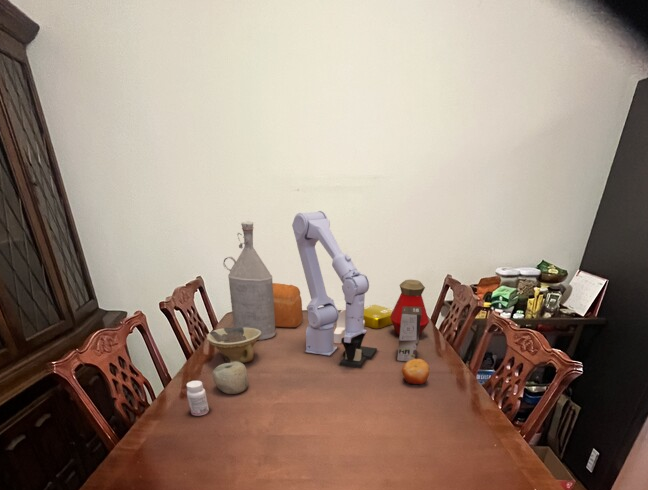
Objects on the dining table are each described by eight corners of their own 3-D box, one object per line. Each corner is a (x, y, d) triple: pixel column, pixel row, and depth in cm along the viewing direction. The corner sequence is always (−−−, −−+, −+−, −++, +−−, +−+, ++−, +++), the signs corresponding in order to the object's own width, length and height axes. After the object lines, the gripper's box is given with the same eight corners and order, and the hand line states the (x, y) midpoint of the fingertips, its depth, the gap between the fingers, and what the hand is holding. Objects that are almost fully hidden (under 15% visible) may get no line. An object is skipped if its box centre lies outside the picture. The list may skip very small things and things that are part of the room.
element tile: (373, 313, 184) (374, 302, 182) (400, 321, 175) (401, 310, 172) (349, 321, 176) (350, 309, 173) (376, 329, 167) (377, 318, 164)
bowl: (274, 359, 142) (272, 332, 137) (231, 375, 131) (227, 346, 126) (242, 346, 152) (239, 320, 147) (200, 360, 141) (195, 333, 136)
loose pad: (339, 365, 138) (340, 351, 135) (348, 355, 145) (348, 342, 142) (360, 368, 136) (360, 354, 133) (367, 357, 143) (368, 344, 140)
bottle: (434, 336, 160) (442, 283, 149) (409, 344, 154) (415, 288, 143) (406, 325, 171) (411, 274, 160) (381, 332, 164) (384, 279, 154)
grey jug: (237, 328, 168) (224, 219, 146) (279, 330, 166) (272, 219, 145) (227, 339, 157) (211, 223, 136) (272, 341, 156) (263, 224, 134)
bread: (296, 329, 167) (294, 289, 158) (234, 325, 171) (230, 286, 162) (304, 318, 178) (303, 280, 170) (246, 315, 182) (242, 278, 174)
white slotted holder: (332, 342, 155) (333, 314, 149) (341, 327, 169) (341, 300, 163) (358, 344, 153) (359, 315, 147) (364, 328, 168) (365, 301, 162)
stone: (258, 369, 125) (243, 356, 116) (248, 401, 124) (232, 391, 114) (229, 364, 128) (212, 351, 119) (220, 396, 127) (202, 385, 117)
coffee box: (415, 362, 139) (421, 314, 131) (396, 360, 140) (401, 313, 132) (416, 352, 147) (422, 306, 138) (398, 350, 148) (402, 305, 139)
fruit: (430, 371, 130) (432, 355, 123) (426, 392, 127) (427, 377, 120) (405, 368, 132) (404, 352, 125) (399, 388, 129) (399, 374, 122)
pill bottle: (192, 407, 114) (186, 380, 109) (210, 407, 114) (205, 379, 109) (189, 416, 110) (183, 388, 105) (207, 415, 110) (202, 387, 105)
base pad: (342, 355, 144) (343, 352, 144) (349, 347, 151) (350, 344, 150) (370, 359, 141) (371, 356, 141) (376, 351, 148) (376, 348, 147)
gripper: (360, 324, 124) (358, 366, 131) (372, 310, 135) (370, 349, 143) (337, 321, 126) (337, 363, 133) (352, 308, 137) (350, 347, 145)
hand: (353, 356), depth 138 cm, fingers open, 5 cm apart
